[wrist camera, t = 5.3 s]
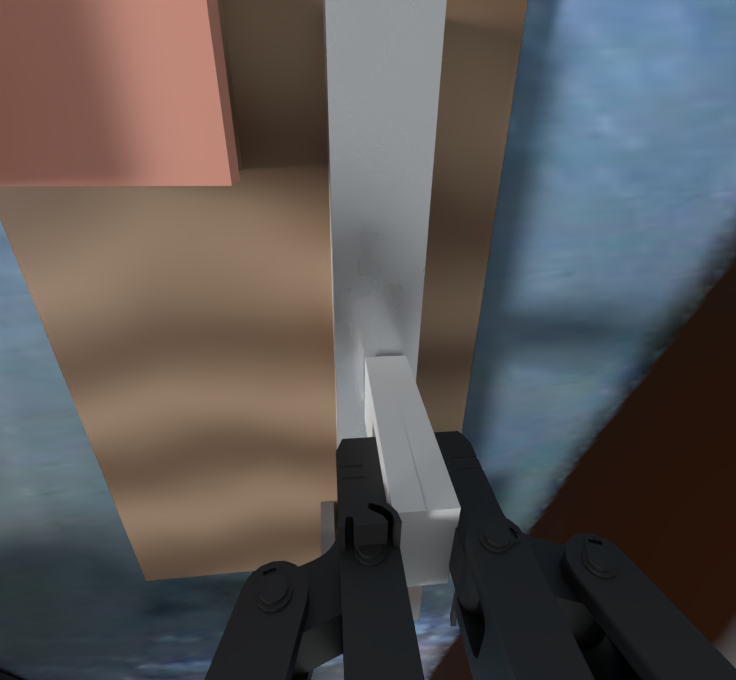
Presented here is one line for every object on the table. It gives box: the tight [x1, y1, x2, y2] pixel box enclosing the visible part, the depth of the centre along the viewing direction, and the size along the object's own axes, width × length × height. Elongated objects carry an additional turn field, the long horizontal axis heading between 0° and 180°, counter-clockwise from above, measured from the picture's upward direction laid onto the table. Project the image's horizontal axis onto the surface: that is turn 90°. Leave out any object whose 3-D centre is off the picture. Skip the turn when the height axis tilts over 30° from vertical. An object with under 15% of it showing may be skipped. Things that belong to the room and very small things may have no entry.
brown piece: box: [0, 0, 528, 621], centre depth 17 cm, size 30×18×6 cm, turn 179°
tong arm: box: [324, 0, 447, 446], centre depth 16 cm, size 24×3×2 cm, turn 179°
